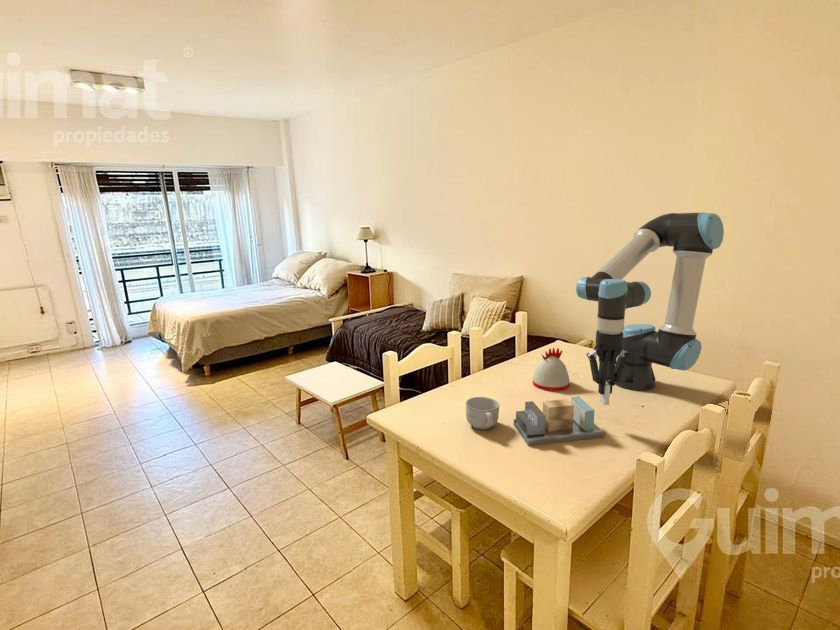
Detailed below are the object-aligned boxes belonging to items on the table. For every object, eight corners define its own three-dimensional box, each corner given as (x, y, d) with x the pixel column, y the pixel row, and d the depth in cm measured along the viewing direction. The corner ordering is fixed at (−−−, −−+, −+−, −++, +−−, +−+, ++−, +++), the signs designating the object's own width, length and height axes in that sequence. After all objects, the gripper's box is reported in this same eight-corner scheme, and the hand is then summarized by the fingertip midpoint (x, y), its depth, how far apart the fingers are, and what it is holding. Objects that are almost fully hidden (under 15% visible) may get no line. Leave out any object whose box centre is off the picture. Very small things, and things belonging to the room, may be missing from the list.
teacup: (465, 417, 148) (464, 395, 146) (497, 416, 148) (497, 395, 146) (468, 438, 135) (467, 415, 133) (503, 438, 134) (503, 414, 132)
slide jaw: (577, 416, 142) (578, 396, 141) (593, 431, 133) (594, 410, 131) (569, 416, 142) (570, 397, 140) (584, 432, 132) (585, 411, 131)
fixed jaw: (532, 420, 141) (533, 401, 139) (545, 436, 131) (545, 415, 129) (515, 422, 140) (516, 402, 138) (527, 438, 130) (527, 417, 129)
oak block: (566, 421, 139) (567, 398, 137) (572, 428, 135) (573, 405, 133) (542, 424, 138) (543, 401, 136) (548, 431, 134) (548, 407, 132)
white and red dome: (575, 389, 166) (577, 352, 163) (541, 393, 165) (542, 355, 161) (559, 376, 180) (560, 341, 176) (527, 379, 178) (528, 344, 174)
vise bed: (583, 417, 144) (583, 411, 144) (604, 437, 132) (604, 431, 131) (513, 424, 142) (513, 418, 141) (527, 445, 129) (528, 439, 129)
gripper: (622, 326, 135) (617, 396, 141) (583, 328, 134) (578, 399, 139) (637, 332, 128) (630, 406, 134) (595, 335, 127) (590, 410, 132)
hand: (604, 403), depth 136 cm, fingers closed
